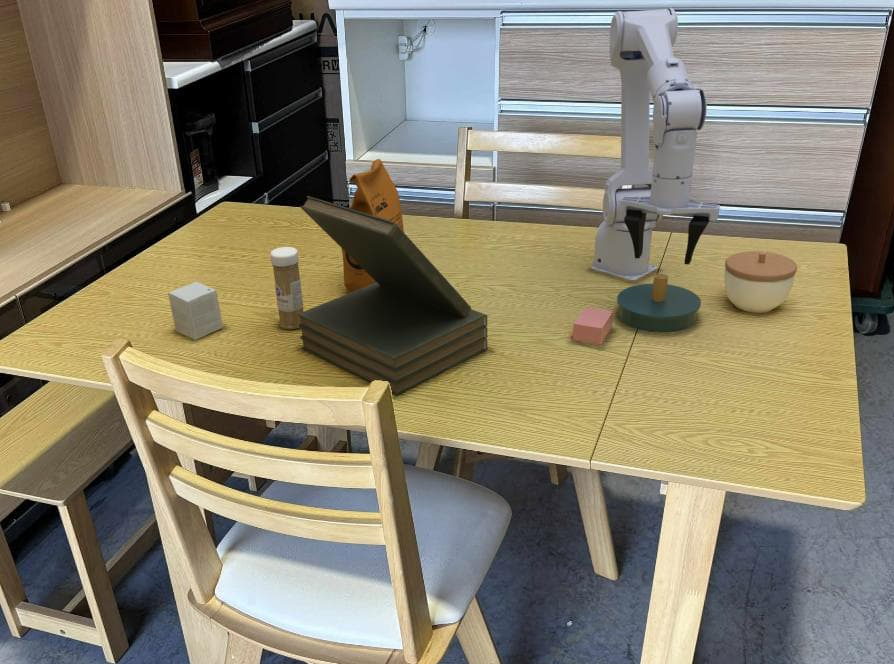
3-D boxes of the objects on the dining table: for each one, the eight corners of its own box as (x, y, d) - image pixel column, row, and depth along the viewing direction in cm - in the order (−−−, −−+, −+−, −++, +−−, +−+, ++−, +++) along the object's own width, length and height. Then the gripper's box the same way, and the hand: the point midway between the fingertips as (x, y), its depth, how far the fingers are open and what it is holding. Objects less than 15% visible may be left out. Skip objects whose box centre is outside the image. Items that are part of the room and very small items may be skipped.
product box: (204, 319, 154) (197, 280, 150) (224, 328, 150) (217, 289, 146) (174, 331, 150) (166, 292, 147) (194, 341, 147) (186, 301, 143)
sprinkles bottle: (274, 326, 150) (264, 252, 143) (292, 316, 152) (283, 243, 146) (293, 332, 147) (283, 257, 140) (311, 323, 150) (303, 249, 143)
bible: (487, 350, 137) (487, 194, 124) (396, 396, 126) (386, 231, 114) (390, 310, 152) (381, 168, 139) (301, 348, 142) (283, 198, 129)
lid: (600, 307, 142) (602, 278, 139) (645, 283, 149) (648, 255, 147) (671, 330, 134) (675, 300, 131) (715, 303, 141) (720, 274, 138)
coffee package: (336, 293, 160) (324, 175, 149) (367, 269, 169) (358, 155, 158) (384, 300, 156) (376, 179, 145) (413, 275, 165) (408, 159, 154)
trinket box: (794, 321, 139) (805, 266, 134) (723, 319, 141) (732, 265, 136) (782, 294, 148) (792, 241, 143) (715, 293, 150) (723, 241, 145)
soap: (572, 343, 137) (573, 323, 135) (584, 326, 142) (585, 307, 140) (600, 347, 135) (602, 328, 134) (611, 330, 140) (613, 311, 138)
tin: (602, 320, 143) (604, 304, 142) (645, 297, 150) (646, 281, 149) (668, 342, 135) (670, 325, 134) (709, 316, 142) (712, 299, 141)
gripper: (617, 177, 131) (610, 262, 138) (718, 185, 124) (705, 274, 131) (628, 164, 136) (621, 247, 143) (726, 171, 130) (714, 257, 137)
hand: (662, 259), depth 137 cm, fingers open, 7 cm apart
